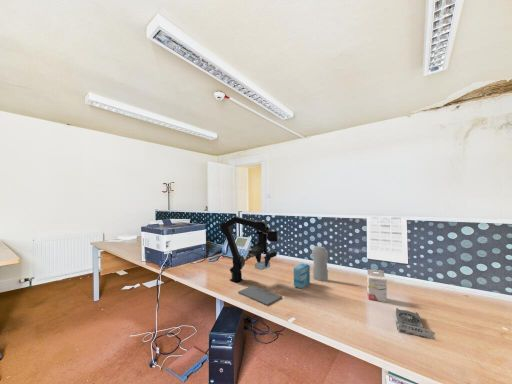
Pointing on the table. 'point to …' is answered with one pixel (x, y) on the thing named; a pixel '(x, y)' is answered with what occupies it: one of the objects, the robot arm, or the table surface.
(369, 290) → the ink cartridge box
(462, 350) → the table surface
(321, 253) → the tall pale column
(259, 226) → the robot arm
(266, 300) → the mat
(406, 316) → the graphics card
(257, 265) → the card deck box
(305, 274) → the data package
